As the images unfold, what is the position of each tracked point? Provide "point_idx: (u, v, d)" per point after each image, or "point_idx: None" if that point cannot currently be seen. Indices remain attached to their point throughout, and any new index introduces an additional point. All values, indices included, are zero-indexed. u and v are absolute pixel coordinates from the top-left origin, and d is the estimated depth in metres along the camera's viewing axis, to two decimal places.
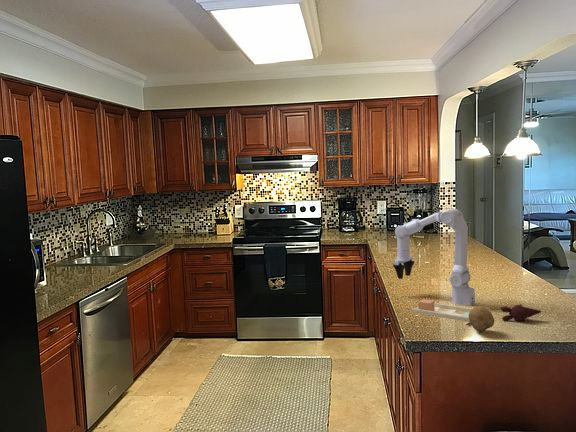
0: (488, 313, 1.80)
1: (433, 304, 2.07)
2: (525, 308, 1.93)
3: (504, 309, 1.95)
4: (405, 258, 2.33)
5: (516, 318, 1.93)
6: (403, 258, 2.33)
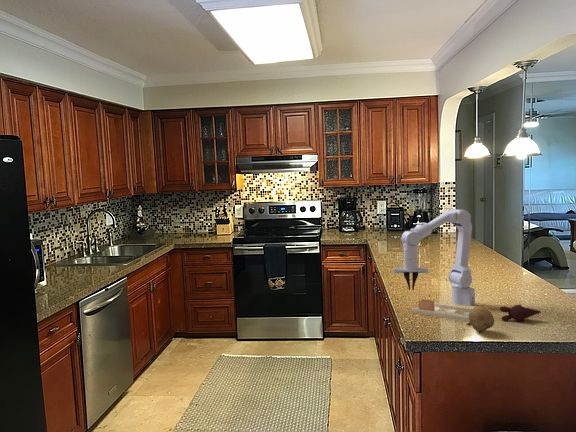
0: (488, 313, 1.80)
1: (433, 304, 2.07)
2: (524, 308, 1.93)
3: (503, 309, 1.95)
4: (406, 268, 2.09)
5: (515, 318, 1.93)
6: (404, 267, 2.10)
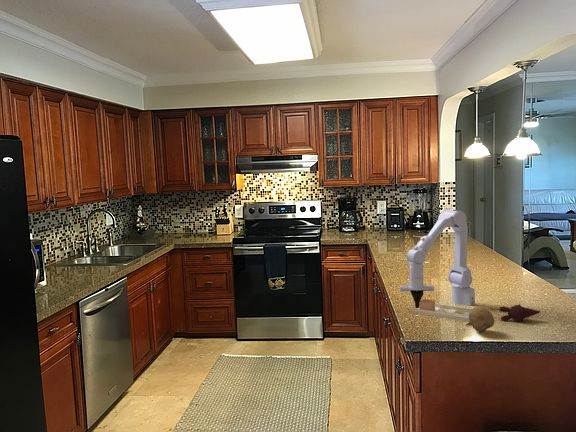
0: (488, 313, 1.80)
1: (434, 304, 2.07)
2: (524, 308, 1.93)
3: (502, 309, 1.95)
4: (412, 286, 2.08)
5: (514, 318, 1.93)
6: (411, 286, 2.09)
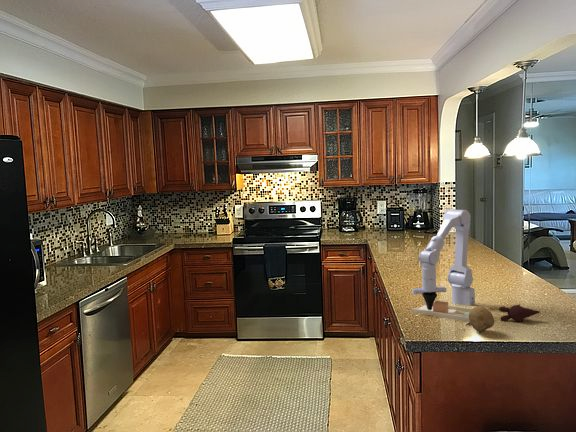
0: (488, 313, 1.80)
1: (447, 305, 2.04)
2: (523, 308, 1.93)
3: (502, 309, 1.95)
4: (426, 288, 2.04)
5: (514, 318, 1.93)
6: (424, 288, 2.04)
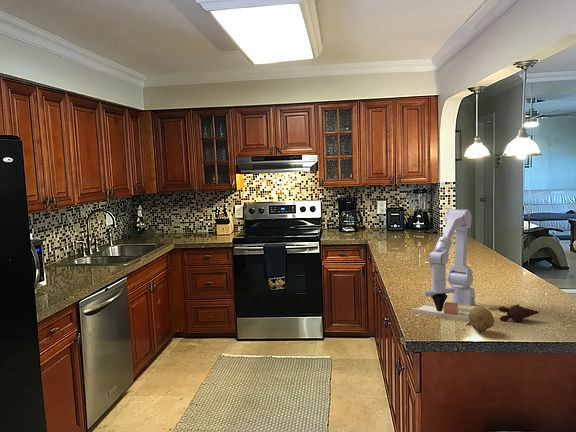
0: (488, 313, 1.80)
1: (457, 306, 2.02)
2: (523, 308, 1.93)
3: (501, 309, 1.95)
4: (437, 290, 2.00)
5: (513, 318, 1.93)
6: (435, 289, 2.01)
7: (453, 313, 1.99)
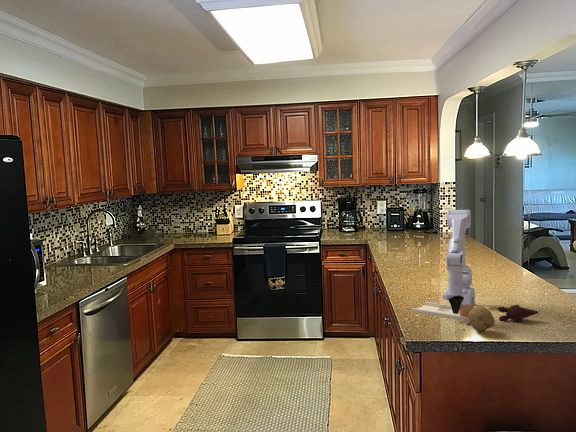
0: (488, 313, 1.80)
1: None
2: (522, 308, 1.93)
3: (501, 309, 1.95)
4: (456, 292, 1.96)
5: (513, 318, 1.93)
6: (454, 292, 1.96)
7: None
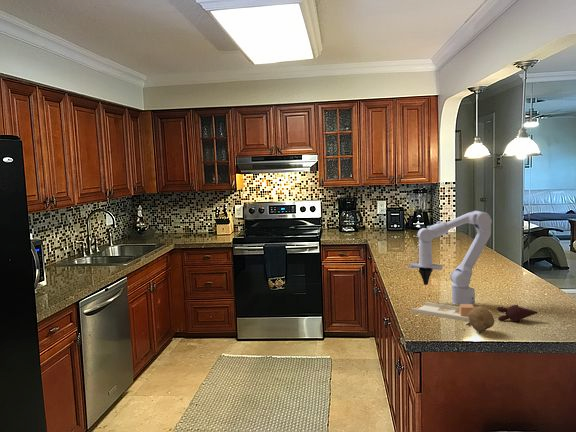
0: (488, 313, 1.80)
1: None
2: (521, 309, 1.93)
3: (500, 309, 1.95)
4: (420, 263, 2.17)
5: (512, 318, 1.93)
6: (419, 263, 2.18)
7: None
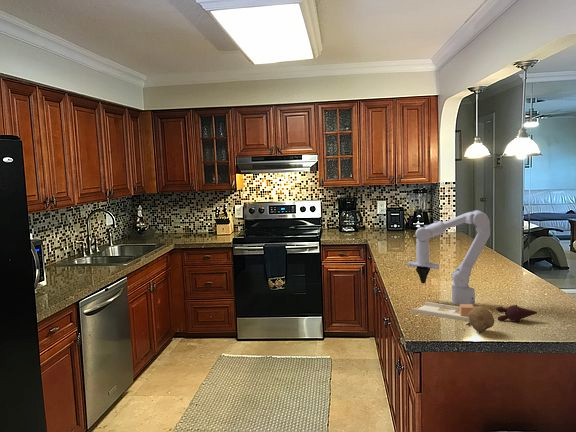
0: (488, 313, 1.80)
1: None
2: (520, 309, 1.93)
3: (499, 309, 1.95)
4: (417, 262, 2.20)
5: (511, 318, 1.93)
6: (416, 262, 2.21)
7: None
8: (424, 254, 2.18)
